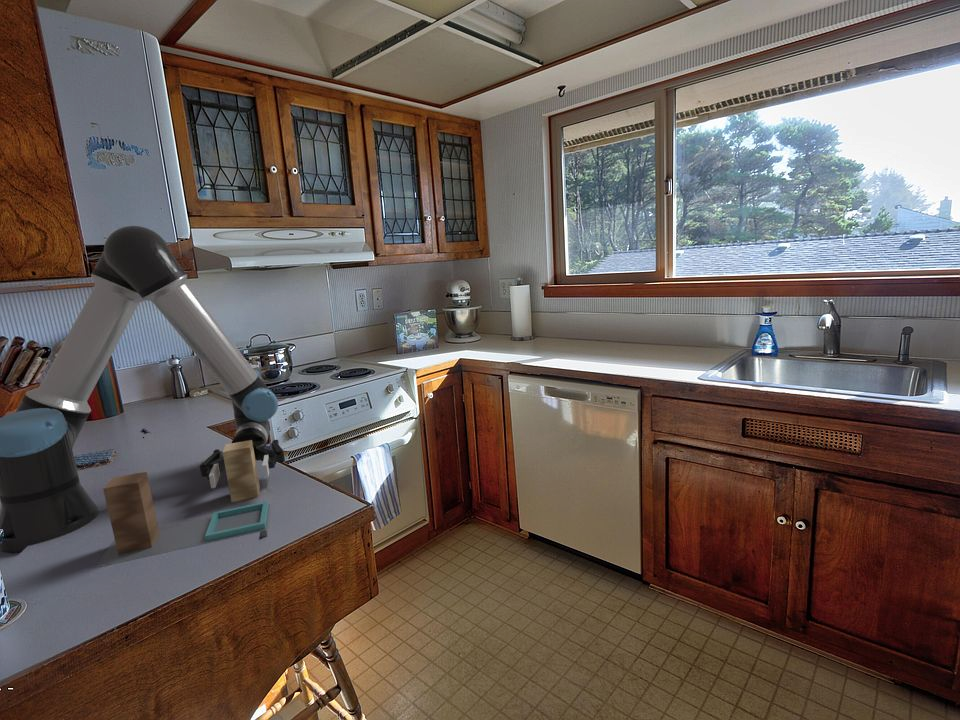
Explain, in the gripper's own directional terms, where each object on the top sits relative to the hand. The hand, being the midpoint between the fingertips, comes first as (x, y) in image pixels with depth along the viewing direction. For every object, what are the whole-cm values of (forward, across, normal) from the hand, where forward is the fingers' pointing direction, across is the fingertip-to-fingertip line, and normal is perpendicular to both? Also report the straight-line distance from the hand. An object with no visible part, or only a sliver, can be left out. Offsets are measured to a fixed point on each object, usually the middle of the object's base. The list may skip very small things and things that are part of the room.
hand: (239, 476), depth 100 cm
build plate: (+8, +8, -7) cm, 14 cm away
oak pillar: (-5, 0, -7) cm, 8 cm away
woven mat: (-53, +43, -8) cm, 69 cm away
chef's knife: (-72, +35, -8) cm, 80 cm away
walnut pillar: (+8, +16, -6) cm, 19 cm away
